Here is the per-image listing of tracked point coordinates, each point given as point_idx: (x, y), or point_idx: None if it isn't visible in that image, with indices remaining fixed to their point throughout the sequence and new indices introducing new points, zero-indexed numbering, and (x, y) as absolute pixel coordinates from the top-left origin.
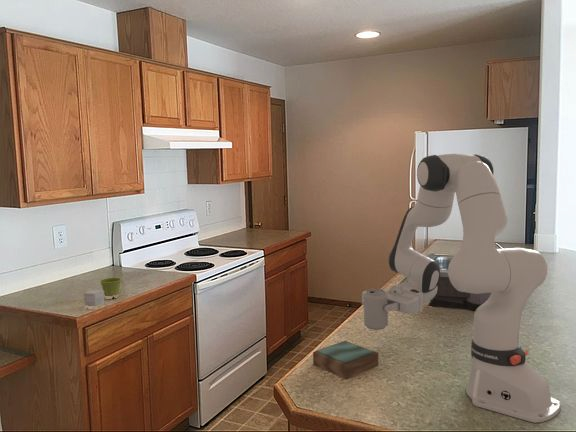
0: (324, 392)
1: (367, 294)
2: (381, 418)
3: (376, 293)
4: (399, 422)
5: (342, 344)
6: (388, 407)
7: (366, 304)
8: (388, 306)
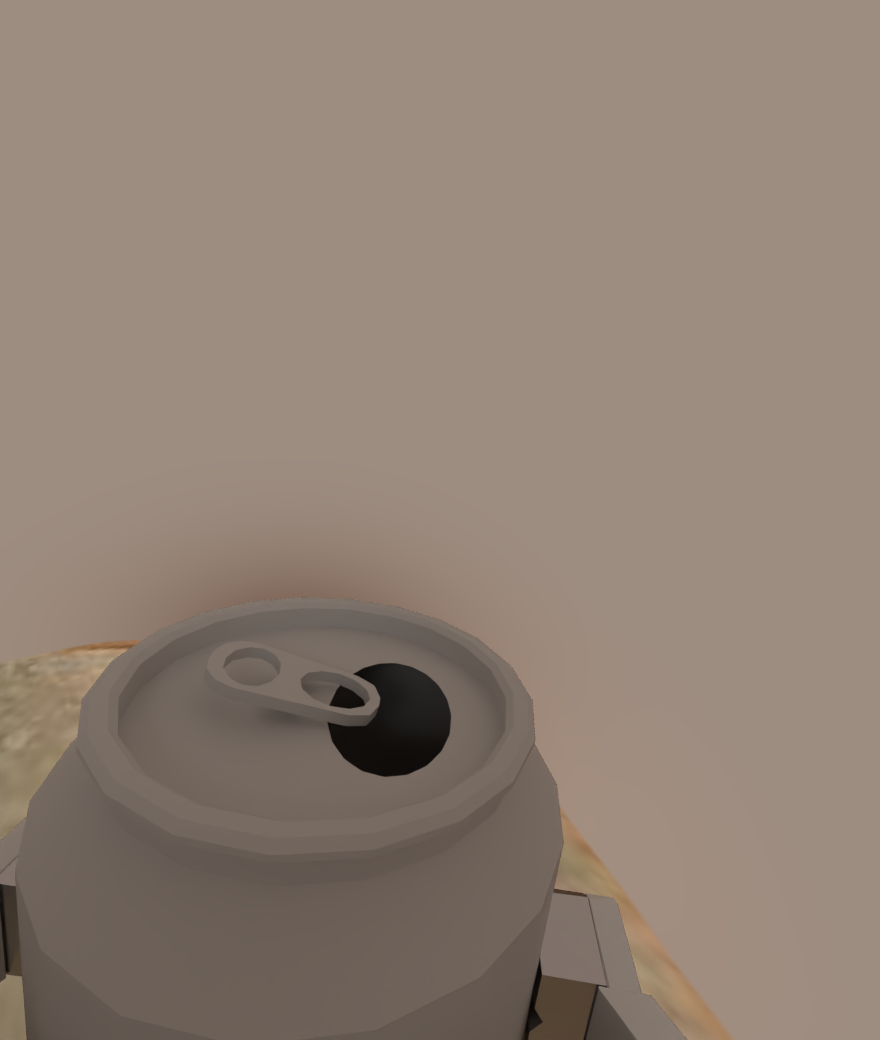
0: None
1: (404, 641)
2: (71, 670)
3: (245, 608)
4: (3, 674)
5: None
6: (46, 714)
7: (384, 744)
8: (8, 846)
